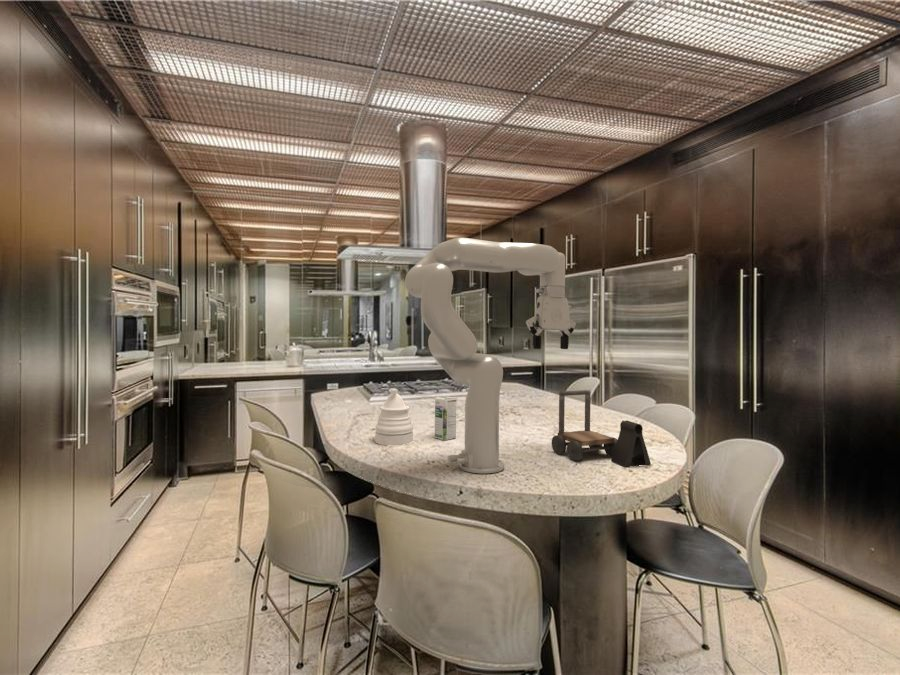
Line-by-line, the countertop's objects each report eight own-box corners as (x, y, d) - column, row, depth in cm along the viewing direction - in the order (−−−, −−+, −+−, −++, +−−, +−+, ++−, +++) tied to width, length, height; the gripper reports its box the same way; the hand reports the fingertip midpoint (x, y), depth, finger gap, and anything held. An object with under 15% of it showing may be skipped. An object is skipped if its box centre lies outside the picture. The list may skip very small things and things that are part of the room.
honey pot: (411, 446, 152) (411, 391, 151) (372, 445, 152) (372, 391, 152) (414, 437, 164) (414, 386, 164) (378, 436, 165) (379, 386, 164)
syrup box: (433, 438, 163) (433, 397, 163) (445, 435, 167) (446, 395, 167) (444, 441, 159) (444, 399, 159) (456, 438, 163) (457, 397, 163)
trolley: (578, 463, 133) (579, 397, 133) (551, 451, 146) (552, 391, 146) (620, 458, 139) (621, 394, 139) (591, 447, 152) (591, 389, 151)
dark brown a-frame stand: (624, 467, 129) (625, 425, 129) (611, 461, 135) (611, 421, 135) (650, 465, 132) (651, 423, 132) (636, 459, 138) (637, 419, 138)
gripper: (533, 290, 135) (532, 349, 135) (583, 293, 141) (581, 349, 141) (521, 292, 142) (519, 348, 142) (568, 295, 148) (567, 348, 148)
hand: (550, 348), depth 141 cm, fingers open, 9 cm apart
